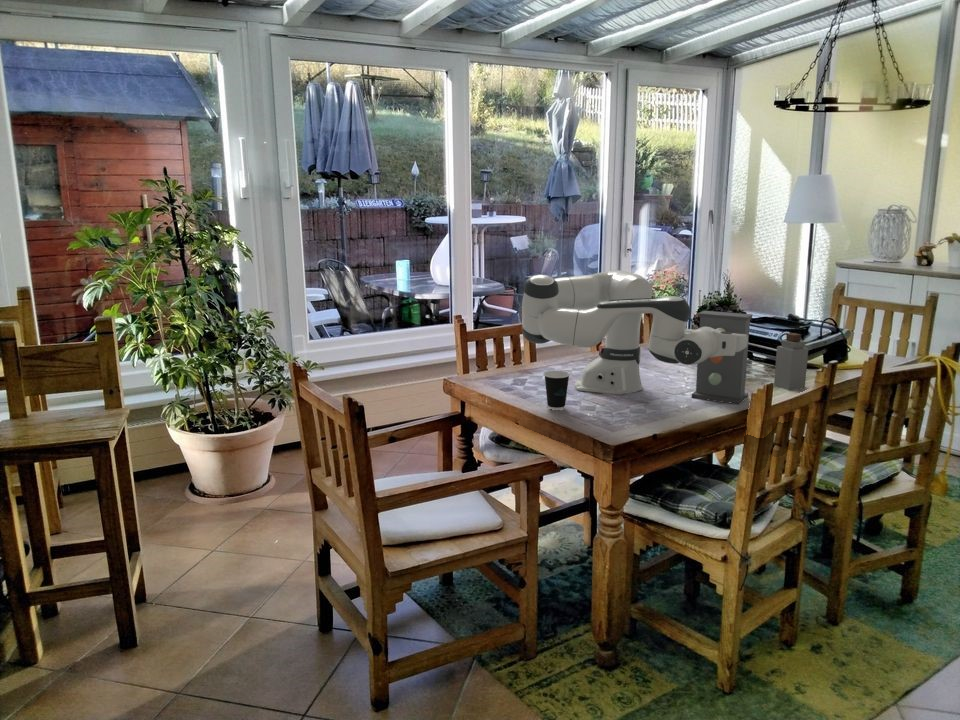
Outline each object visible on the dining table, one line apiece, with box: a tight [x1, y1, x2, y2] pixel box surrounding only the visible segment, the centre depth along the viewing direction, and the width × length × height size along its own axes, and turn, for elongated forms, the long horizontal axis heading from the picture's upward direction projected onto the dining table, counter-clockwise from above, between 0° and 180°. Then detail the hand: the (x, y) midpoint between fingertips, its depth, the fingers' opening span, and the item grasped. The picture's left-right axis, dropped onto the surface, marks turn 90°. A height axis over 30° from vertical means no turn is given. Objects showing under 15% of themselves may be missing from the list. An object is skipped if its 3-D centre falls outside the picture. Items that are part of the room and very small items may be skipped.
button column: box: [691, 310, 753, 404], centre depth 231 cm, size 15×10×27 cm, turn 56°
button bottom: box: [708, 373, 722, 385], centre depth 228 cm, size 4×3×4 cm
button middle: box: [710, 356, 723, 363], centre depth 227 cm, size 4×3×4 cm
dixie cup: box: [543, 370, 571, 411], centre depth 224 cm, size 8×8×11 cm
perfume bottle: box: [773, 332, 809, 391], centre depth 244 cm, size 7×7×18 cm
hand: (718, 334), depth 225 cm, fingers closed, pressing on button top
